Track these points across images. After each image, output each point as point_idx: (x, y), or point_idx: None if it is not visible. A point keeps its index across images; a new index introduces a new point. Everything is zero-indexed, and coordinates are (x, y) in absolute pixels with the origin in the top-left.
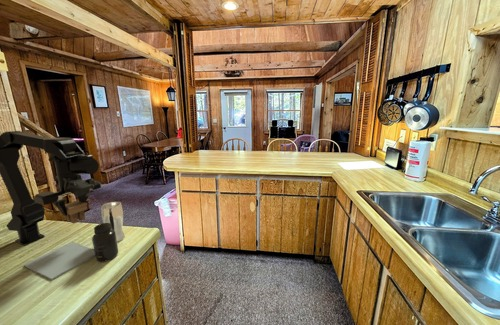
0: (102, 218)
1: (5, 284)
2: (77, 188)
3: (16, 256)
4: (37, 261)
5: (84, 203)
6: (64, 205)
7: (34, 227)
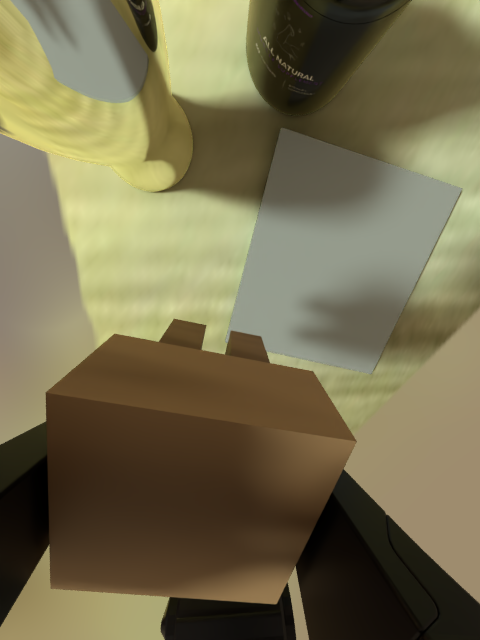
0: (141, 93)
1: (451, 334)
2: None
3: None
4: (356, 346)
5: (81, 398)
6: (396, 579)
7: None
